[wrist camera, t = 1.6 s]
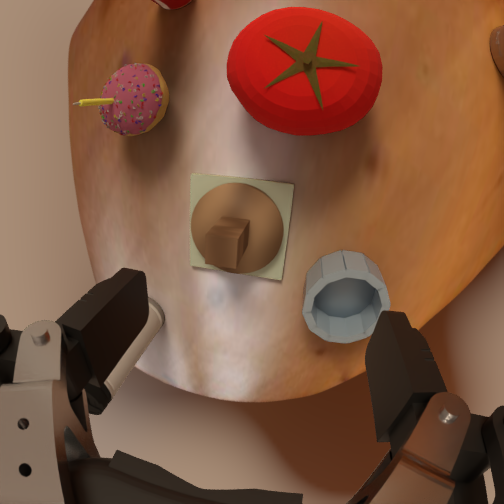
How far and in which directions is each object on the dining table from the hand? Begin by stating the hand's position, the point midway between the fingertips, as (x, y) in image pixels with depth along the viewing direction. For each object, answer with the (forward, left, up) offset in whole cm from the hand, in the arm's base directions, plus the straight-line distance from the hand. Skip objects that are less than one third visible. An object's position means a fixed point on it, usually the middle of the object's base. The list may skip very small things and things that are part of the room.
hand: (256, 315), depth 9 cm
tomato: (0, -12, -25) cm, 28 cm away
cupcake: (+18, -9, -25) cm, 32 cm away
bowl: (-8, +12, -25) cm, 29 cm away
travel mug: (+20, +22, -25) cm, 39 cm away
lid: (+6, +6, -25) cm, 26 cm away
